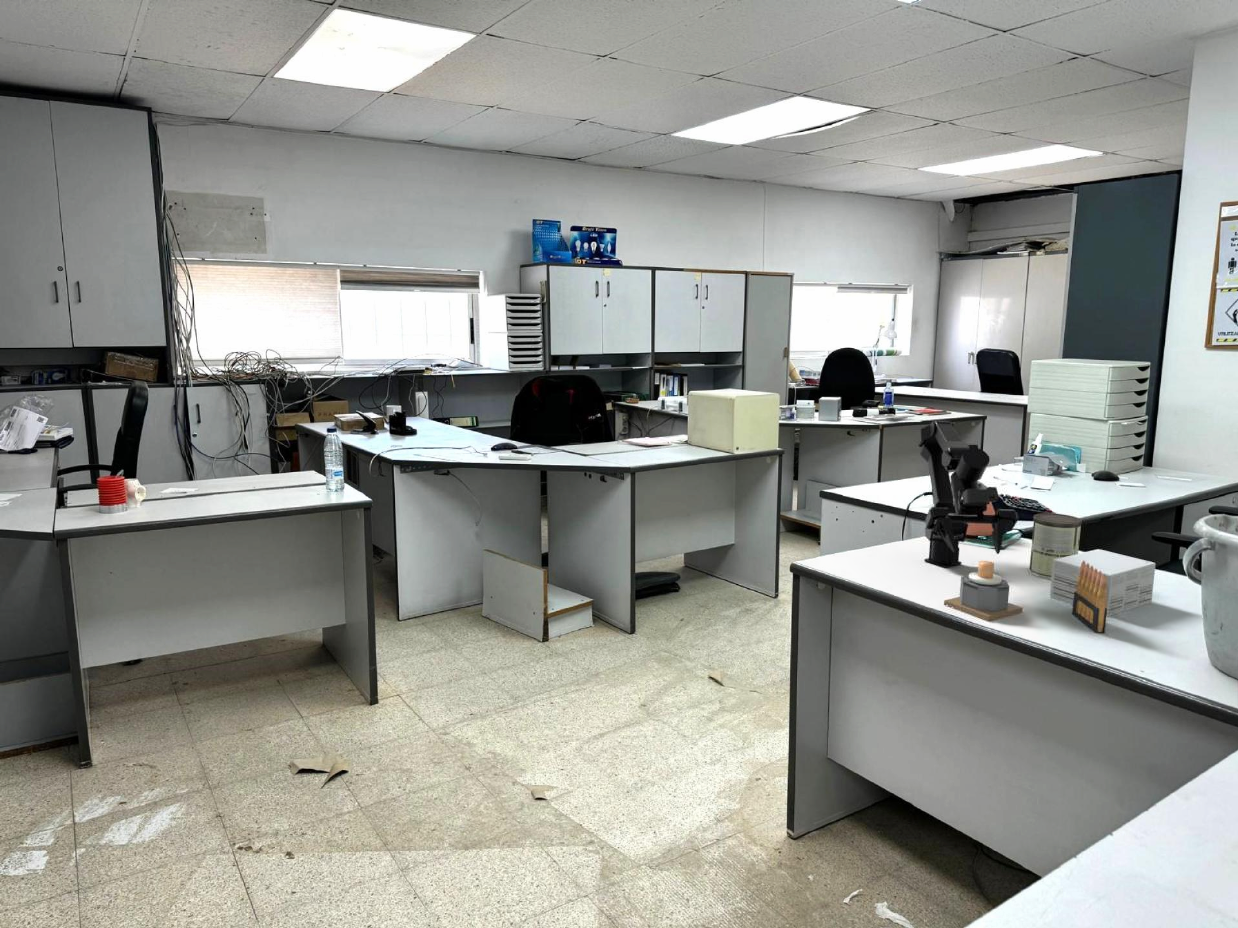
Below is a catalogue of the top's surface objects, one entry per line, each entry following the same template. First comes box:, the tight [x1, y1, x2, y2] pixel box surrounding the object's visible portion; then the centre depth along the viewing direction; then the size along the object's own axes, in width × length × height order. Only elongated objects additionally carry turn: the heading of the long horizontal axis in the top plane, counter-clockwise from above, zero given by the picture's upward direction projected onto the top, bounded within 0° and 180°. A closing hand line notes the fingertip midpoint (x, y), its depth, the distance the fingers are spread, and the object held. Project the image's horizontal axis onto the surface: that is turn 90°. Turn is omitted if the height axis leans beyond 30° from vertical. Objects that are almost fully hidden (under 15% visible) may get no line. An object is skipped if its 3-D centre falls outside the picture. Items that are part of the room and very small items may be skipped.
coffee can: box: [1028, 512, 1083, 581], centre depth 198 cm, size 10×10×14 cm
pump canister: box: [943, 574, 1024, 622], centre depth 175 cm, size 11×11×6 cm
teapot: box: [966, 502, 996, 537], centre depth 235 cm, size 13×20×12 cm, turn 165°
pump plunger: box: [968, 560, 1003, 585], centre depth 175 cm, size 6×6×9 cm
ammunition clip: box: [1071, 561, 1108, 634], centre depth 166 cm, size 11×2×12 cm, turn 174°
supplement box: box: [1049, 548, 1156, 617], centre depth 180 cm, size 17×13×9 cm
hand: (976, 552), depth 181 cm, fingers open, 9 cm apart
